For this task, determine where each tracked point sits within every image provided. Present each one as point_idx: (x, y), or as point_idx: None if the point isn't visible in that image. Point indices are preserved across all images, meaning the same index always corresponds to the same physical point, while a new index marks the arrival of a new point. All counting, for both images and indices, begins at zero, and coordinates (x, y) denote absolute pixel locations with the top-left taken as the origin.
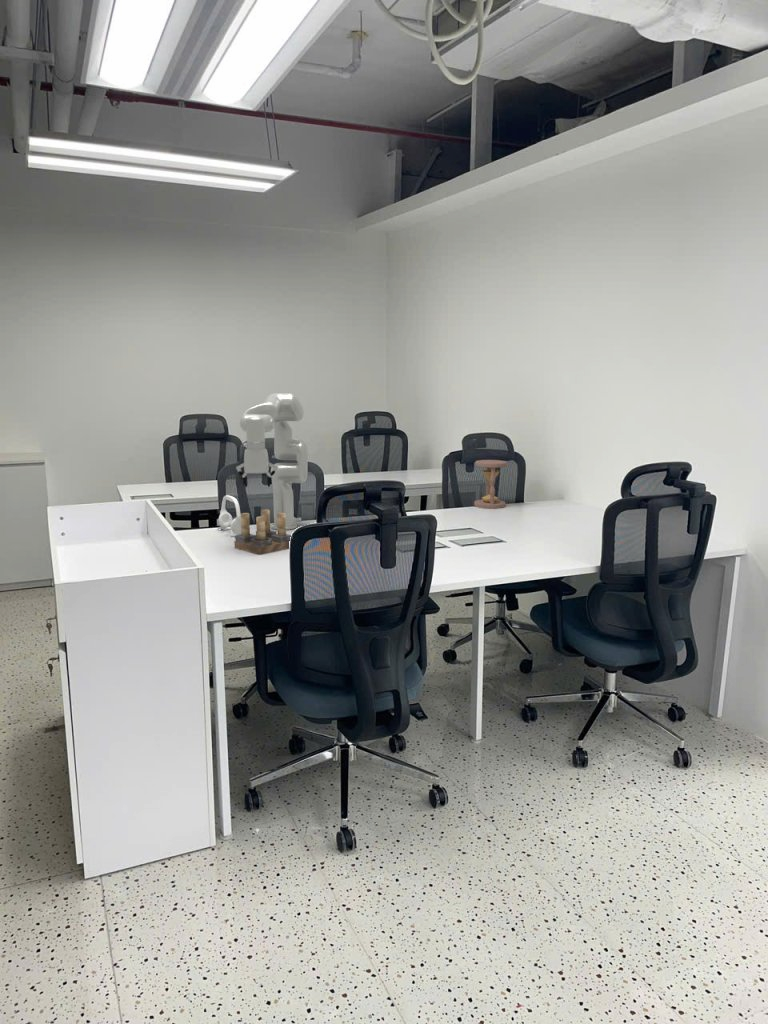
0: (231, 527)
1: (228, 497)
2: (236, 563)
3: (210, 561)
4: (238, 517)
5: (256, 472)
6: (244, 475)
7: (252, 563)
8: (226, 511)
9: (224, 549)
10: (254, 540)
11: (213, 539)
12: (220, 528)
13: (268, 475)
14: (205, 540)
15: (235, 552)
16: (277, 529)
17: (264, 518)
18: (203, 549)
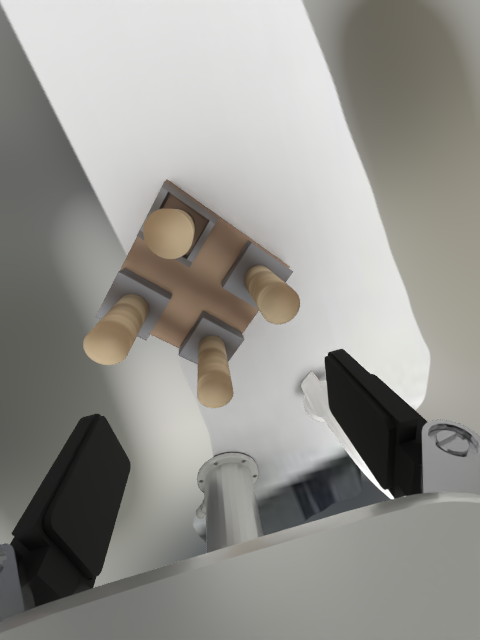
0: None
1: None
2: (202, 16)
3: (309, 42)
4: (327, 410)
5: (207, 579)
6: (449, 455)
7: (139, 25)
8: None
9: (307, 236)
10: (196, 203)
11: (361, 338)
12: None
13: (2, 583)
14: (379, 324)
15: (262, 203)
16: (142, 311)
17: (144, 231)
18: (367, 224)
